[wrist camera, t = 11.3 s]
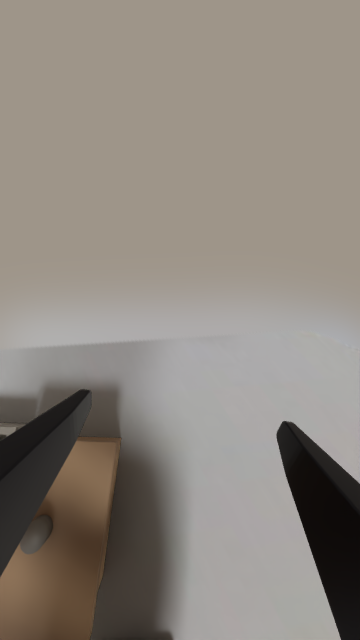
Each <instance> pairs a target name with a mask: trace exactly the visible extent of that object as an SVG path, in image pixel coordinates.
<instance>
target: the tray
mask: <svg viewBox="0 0 360 640" xmlns="http://www.w3.org/2000/svg"><path fill="white" fill-rule="evenodd" d="M24 425H26V424H20V423H0V441H1V440H2V439H4V438H5V437H7V436H9V435H10V434H12V433H13V432H15V431H16V430H18V429H20V428H21V427H23V426H24Z"/></svg>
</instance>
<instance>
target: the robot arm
mask: <svg viewBox="0 0 360 640" xmlns="http://www.w3.org/2000/svg"><path fill="white" fill-rule="evenodd" d="M91 405H92V396H91V391H90V390H85V389H81V390H79V391H78V392H76V393H75V394H73V395H72V396H70V397H68V398H67V399H65V400H64V401H62V402H61V403H59V404H57V405H56V406H54V407H53V408H51V409H50V410H48V411H46V412H45V413H43V414H42V415H40V416H38V417H37V418H35V419H34V420H32V421H31V422H29V423H27V424H26V425H24V426H23V427H21V428H20V429H18V430H16V431H15V432H13V433H12V434H10V435H9V436H7V437H5V438H4V439H2V440H1V441H0V577H1V575H2V574H3V572H4V570H5V568H6V567H7V565H8V563H9V561H10V559H11V558H12V556H13V554H14V552H15V550H16V549H17V547H18V545H19V543H20V541H21V540H22V538H23V536H24V534H25V533H26V531H27V529H28V527H29V525H30V524H31V522H32V520H33V518H34V516H35V515H36V513H37V511H38V509H39V507H40V506H41V504H42V502H43V500H44V499H45V497H46V495H47V493H48V491H49V490H50V488H51V486H52V484H53V482H54V481H55V479H56V477H57V475H58V474H59V472H60V470H61V468H62V466H63V465H64V463H65V461H66V459H67V457H68V456H69V454H70V452H71V450H72V448H73V447H74V445H75V443H76V440H77V438H78V436H79V434H80V432H81V429H82V427H83V425H84V422H85V420H86V418H87V416H88V413H89V411H90V409H91ZM277 442H278V446H279V450H280V454H281V458H282V462H283V466H284V470H285V474H286V477H287V480H288V483H289V486H290V489H291V492H292V495H293V498H294V501H295V504H296V507H297V510H298V513H299V516H300V519H301V522H302V525H303V528H304V531H305V534H306V537H307V540H308V543H309V546H310V549H311V552H312V555H313V558H314V561H315V563H316V566H317V569H318V572H319V575H320V578H321V581H322V584H323V587H324V590H325V593H326V596H327V599H328V602H329V605H330V608H331V611H332V614H333V617H334V620H335V623H336V626H337V629H338V632H339V635H340V638H341V640H360V484H359V483H358V482H357V481H356V480H355V479H354V478H353V477H352V476H351V475H350V474H349V473H347V472H346V471H345V470H344V469H343V468H342V467H341V466H340V465H339V464H338V463H337V462H335V461H334V460H333V459H332V458H331V457H330V456H329V455H328V454H327V453H326V452H325V451H323V450H322V449H321V448H320V447H319V446H318V445H317V444H316V443H315V442H314V441H313V440H311V439H310V438H309V437H308V436H307V435H306V434H305V433H304V432H303V431H302V430H301V429H299V428H298V427H297V426H296V425H295V424H294V423H292V422H287V421H283V422H282V424H281V425H280V427H279V429H278V431H277Z"/></svg>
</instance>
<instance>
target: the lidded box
mask: <svg viewBox="0 0 360 640" xmlns="http://www.w3.org/2000/svg"><path fill="white" fill-rule="evenodd" d="M120 444H121V438H105V437H78V438H77V440H76V443H75V445H74V447H73V448H72V450H71V452H70V454H69V456H68V457H67V459H66V461H65V463H64V465H63V466H62V468H61V470H60V472H59V474H58V475H57V477H56V479H55V481H54V482H53V484H52V486H51V488H50V490H49V491H48V493H47V495H46V497H45V499H44V500H43V502H42V504H41V506H40V507H39V509H38V511H37V513H36V515H35V516H34V518H33V520H32V522H31V524H30V525H29V527H28V529H27V531H26V533H25V534H24V536H23V538H22V540H21V541H20V543H19V545H18V547H17V549H16V550H15V552H14V554H13V556H12V558H11V559H10V561H9V563H8V565H7V567H6V568H5V570H4V572H3V574H2V575H1V577H0V640H90V637H91V633H92V628H93V621H94V613H95V606H96V599H97V592H98V589H99V586H100V583H101V580H102V577H103V571H104V564H105V556H106V549H107V541H108V534H109V526H110V519H111V511H112V504H113V496H114V489H115V481H116V474H117V466H118V459H119V451H120Z"/></svg>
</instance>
